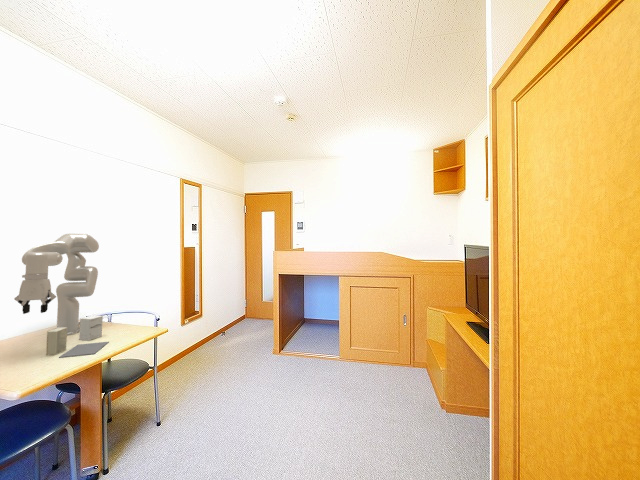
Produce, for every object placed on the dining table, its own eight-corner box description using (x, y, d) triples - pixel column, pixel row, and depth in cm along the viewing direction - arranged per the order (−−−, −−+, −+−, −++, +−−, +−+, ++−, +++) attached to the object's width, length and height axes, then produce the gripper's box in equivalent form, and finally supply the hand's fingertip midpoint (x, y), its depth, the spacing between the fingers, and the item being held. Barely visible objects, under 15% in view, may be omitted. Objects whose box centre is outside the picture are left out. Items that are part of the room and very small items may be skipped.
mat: (77, 345, 135) (77, 344, 135) (108, 342, 140) (109, 341, 140) (58, 358, 120) (58, 357, 120) (94, 354, 125) (94, 353, 125)
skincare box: (57, 350, 128) (58, 327, 129) (66, 350, 129) (67, 327, 129) (45, 355, 122) (46, 331, 123) (54, 355, 123) (56, 331, 123)
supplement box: (88, 341, 141) (89, 319, 141) (78, 339, 143) (79, 318, 143) (102, 336, 148) (103, 315, 149) (92, 335, 150) (93, 314, 150)
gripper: (6, 278, 117) (5, 316, 116) (54, 277, 123) (52, 313, 122) (19, 276, 124) (17, 312, 123) (63, 275, 130) (62, 309, 129)
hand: (35, 312), depth 123 cm, fingers open, 5 cm apart
